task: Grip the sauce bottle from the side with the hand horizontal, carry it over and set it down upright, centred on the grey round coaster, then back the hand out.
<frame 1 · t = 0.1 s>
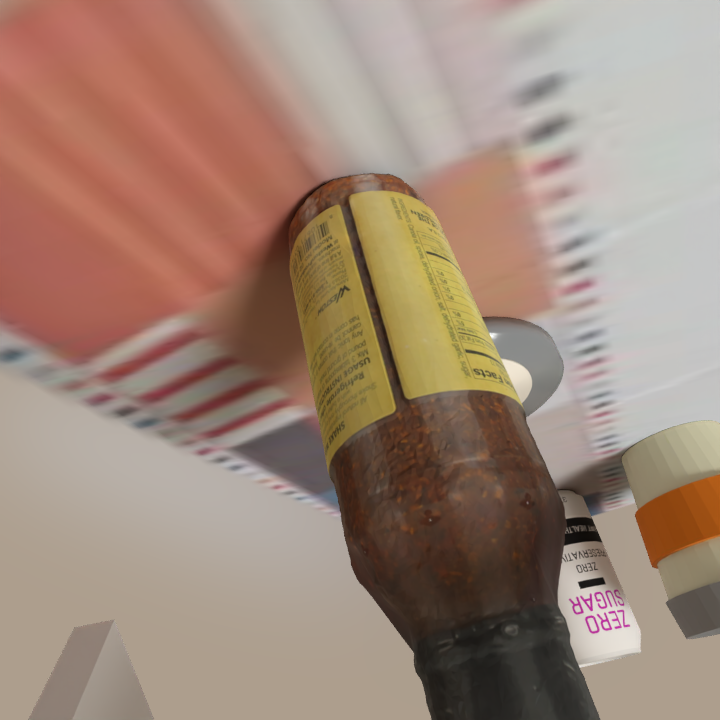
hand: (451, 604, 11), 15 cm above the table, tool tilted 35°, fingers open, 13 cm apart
supplement can: (541, 501, 58), on the table
grey round coaster: (454, 384, 34), on the table
reusable coffee cup: (669, 443, 50), on the table
sauce bottle: (362, 223, 22), on the table
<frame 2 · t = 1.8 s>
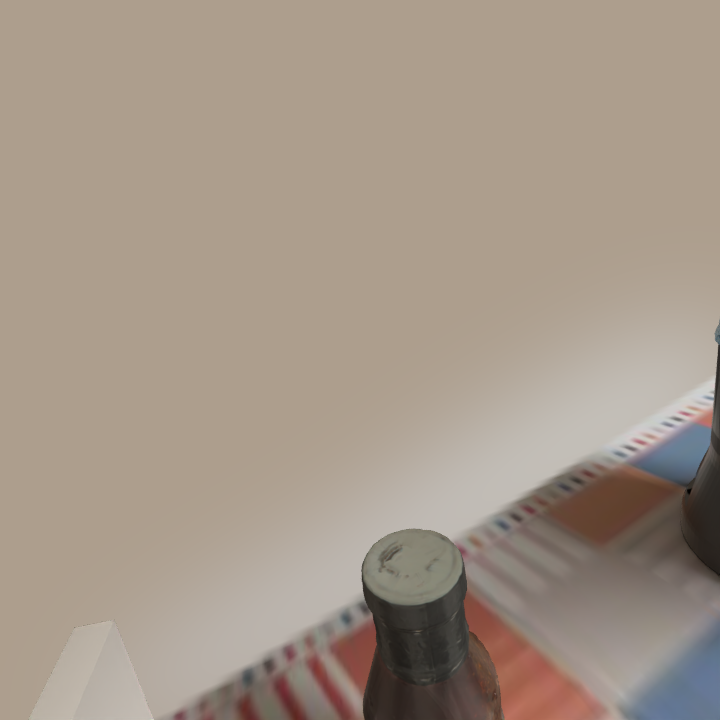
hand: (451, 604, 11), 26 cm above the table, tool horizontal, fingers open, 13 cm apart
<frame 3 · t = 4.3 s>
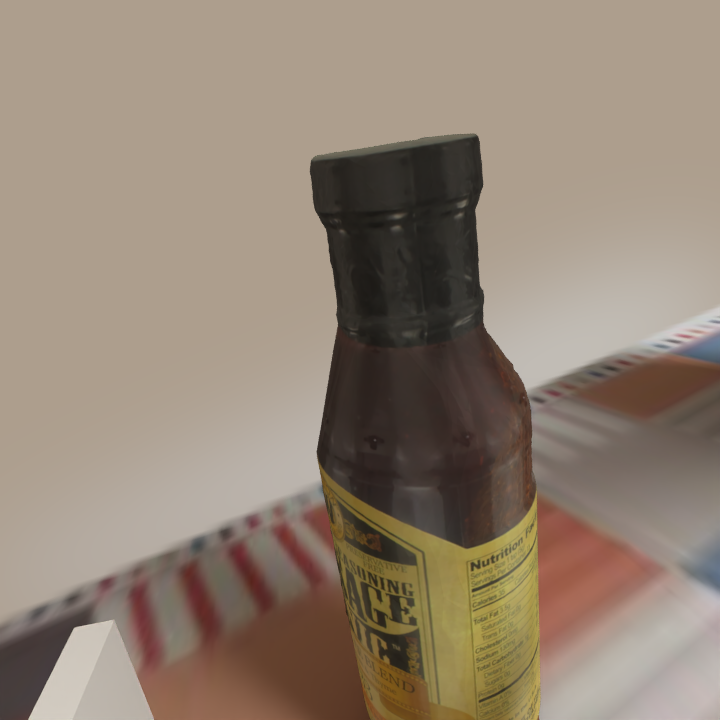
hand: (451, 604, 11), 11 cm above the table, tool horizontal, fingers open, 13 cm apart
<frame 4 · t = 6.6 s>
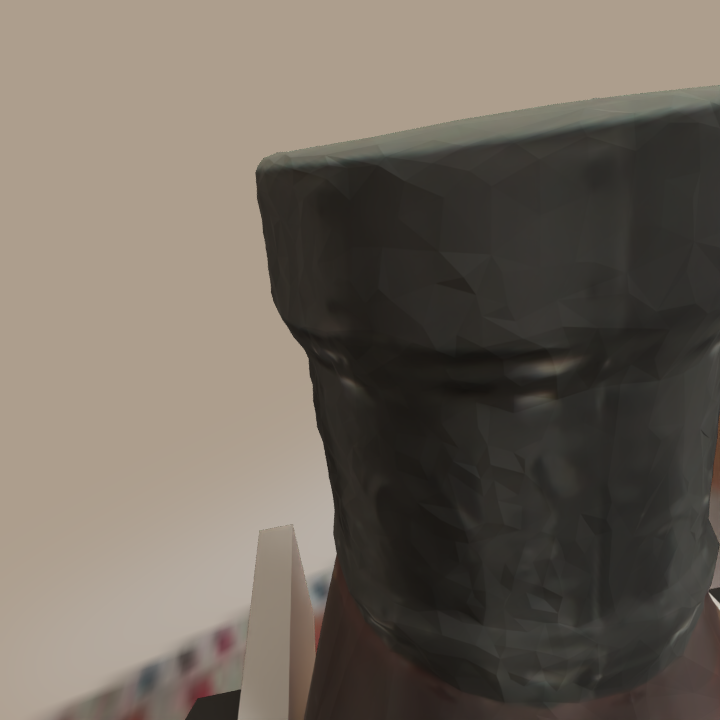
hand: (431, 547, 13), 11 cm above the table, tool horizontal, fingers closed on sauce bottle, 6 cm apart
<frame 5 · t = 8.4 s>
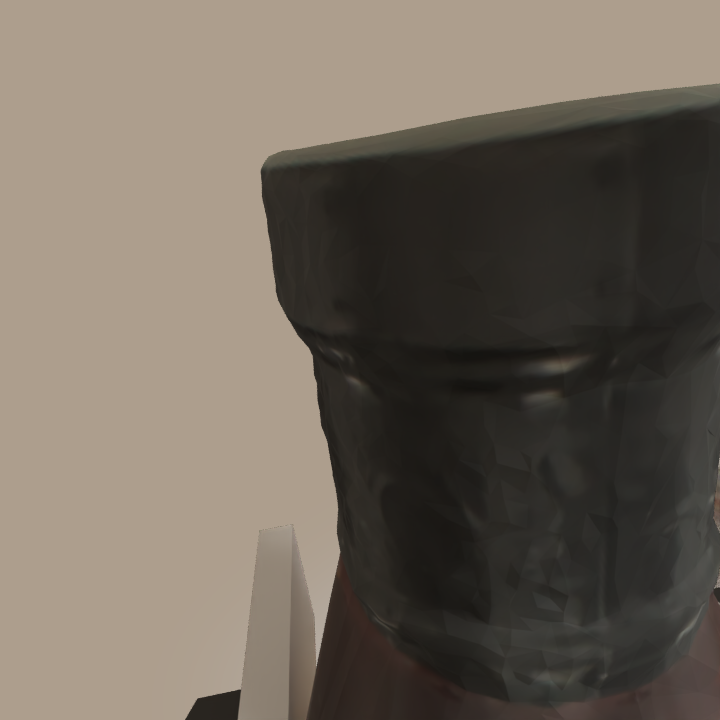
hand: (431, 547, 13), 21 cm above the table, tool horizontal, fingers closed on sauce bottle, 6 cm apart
when the fingers open (13 cm above the table, at t = 10.3 s): sauce bottle stays where it is, resting on grey round coaster.
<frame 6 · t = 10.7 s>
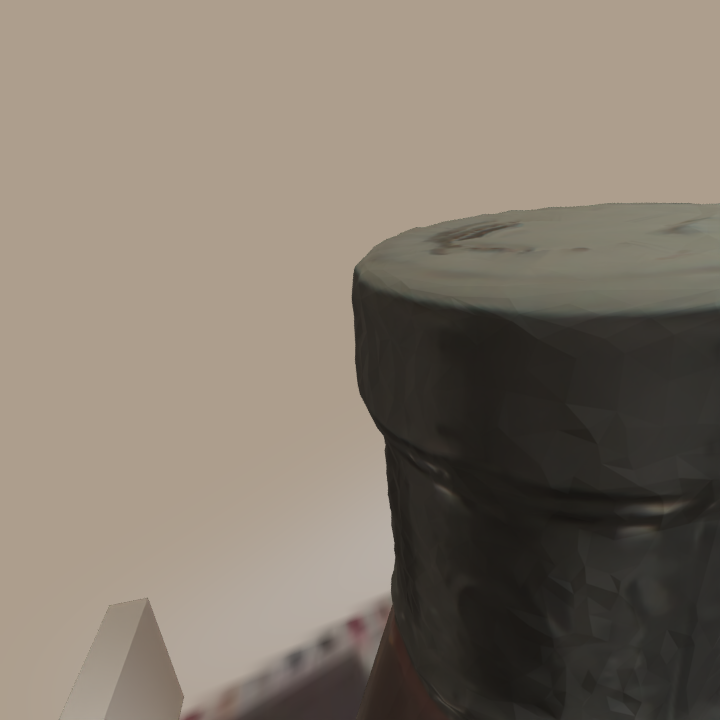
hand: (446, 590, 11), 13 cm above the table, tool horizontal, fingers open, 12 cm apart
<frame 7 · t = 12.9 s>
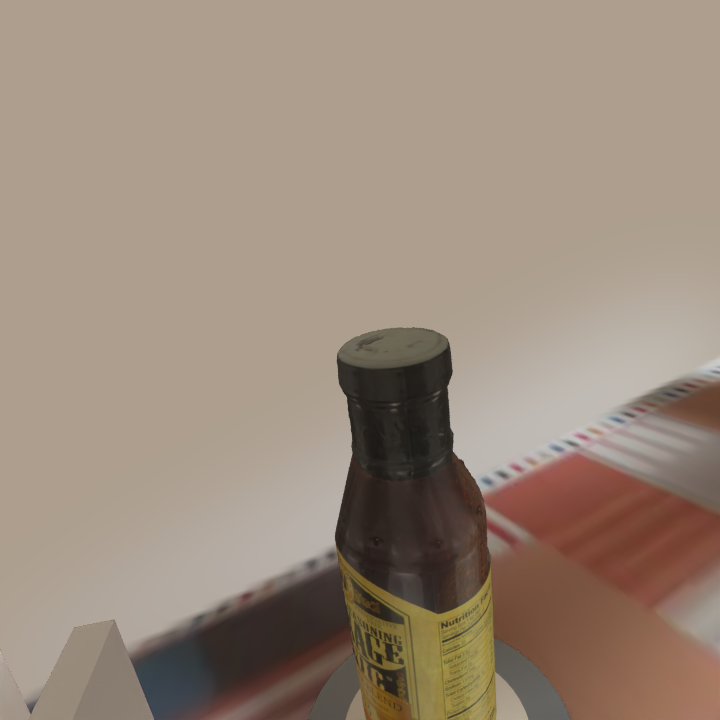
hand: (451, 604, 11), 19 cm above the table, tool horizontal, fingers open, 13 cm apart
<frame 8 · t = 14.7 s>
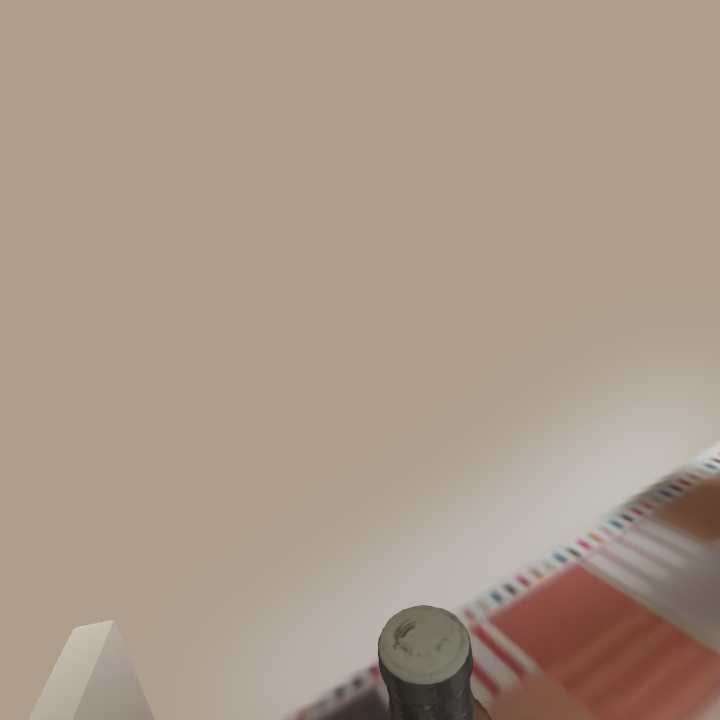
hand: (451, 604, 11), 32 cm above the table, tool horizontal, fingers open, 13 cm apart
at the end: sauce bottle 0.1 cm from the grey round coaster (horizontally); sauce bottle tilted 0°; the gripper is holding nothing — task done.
